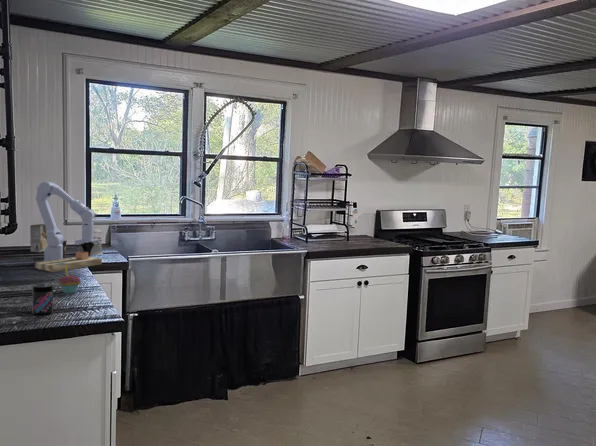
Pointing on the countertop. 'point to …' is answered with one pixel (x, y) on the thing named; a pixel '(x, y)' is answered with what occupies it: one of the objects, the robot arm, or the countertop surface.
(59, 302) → the countertop surface
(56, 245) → the robot arm
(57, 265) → the fader console
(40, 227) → the coffee box
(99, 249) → the french press
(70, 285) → the cupcake
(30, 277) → the countertop surface
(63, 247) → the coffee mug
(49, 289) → the supplement container
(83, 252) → the fader knob
